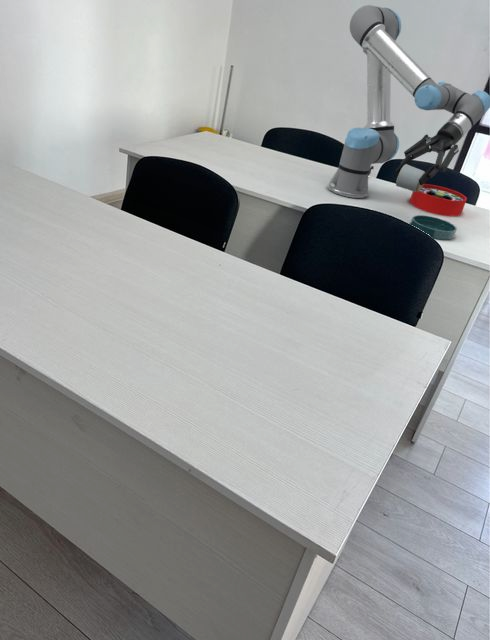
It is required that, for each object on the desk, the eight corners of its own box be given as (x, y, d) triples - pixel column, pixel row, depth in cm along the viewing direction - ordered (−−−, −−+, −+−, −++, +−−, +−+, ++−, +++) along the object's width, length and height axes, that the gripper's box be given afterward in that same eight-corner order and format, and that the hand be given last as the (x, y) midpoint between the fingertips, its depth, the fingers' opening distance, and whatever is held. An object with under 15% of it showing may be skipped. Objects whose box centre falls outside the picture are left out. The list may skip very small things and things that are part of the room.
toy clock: (435, 200, 213) (404, 182, 229) (429, 215, 216) (399, 197, 232) (478, 202, 220) (445, 185, 236) (472, 217, 223) (440, 199, 239)
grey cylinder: (416, 194, 197) (424, 172, 193) (393, 187, 201) (401, 165, 197) (424, 189, 205) (432, 168, 201) (402, 182, 209) (409, 161, 205)
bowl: (411, 220, 208) (414, 212, 206) (454, 231, 204) (457, 223, 202) (406, 231, 196) (409, 222, 194) (452, 243, 192) (455, 235, 190)
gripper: (425, 114, 203) (381, 160, 203) (479, 131, 188) (432, 180, 188) (429, 130, 209) (386, 175, 209) (482, 147, 194) (436, 196, 194)
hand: (408, 177), depth 199 cm, fingers closed on grey cylinder, 9 cm apart
